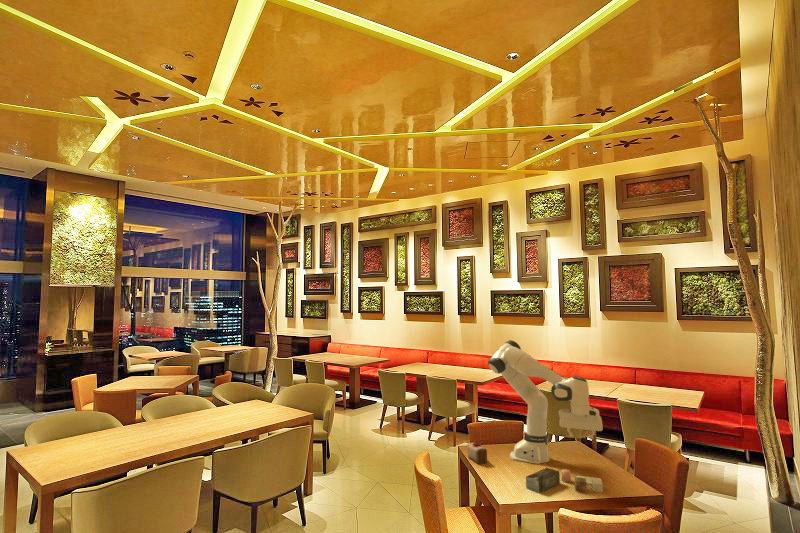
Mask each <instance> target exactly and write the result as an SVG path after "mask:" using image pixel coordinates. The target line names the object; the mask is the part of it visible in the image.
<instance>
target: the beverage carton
mask: <svg viewBox="0 0 800 533" xmlns="http://www.w3.org/2000/svg"><path fill="white" fill-rule="evenodd" d="M560 474H561V473H560V471H559V470H557V469H553V468H549V467H545V468H543V469H540V470H539V471H536V472H533V473H531V474H530V475H527V476H525V486H526V489H527V490H530V491H532V492H534V493H537V494H540V493H542V492H545V491H547V490H549V489H550V488H553V487H555V486H557V485H559V484H560V483H561V477H560Z"/></svg>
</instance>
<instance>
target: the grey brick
mask: <svg viewBox="0 0 800 533" xmlns="http://www.w3.org/2000/svg"><path fill="white" fill-rule="evenodd" d="M591 477H592V485H591V486H593V487H592V489H593V492H594V491H596V492H595V493H601V492H603V493H604V486H603V485H604V484H603V481H602V479H601V478H600V477H594V478H593V476H591Z"/></svg>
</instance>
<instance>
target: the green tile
mask: <svg viewBox="0 0 800 533" xmlns="http://www.w3.org/2000/svg"><path fill="white" fill-rule="evenodd" d="M575 477H578V478H586V482H587V485H591V486H592V477H593V476H582V475H576V476H575ZM593 478H595V477H593Z"/></svg>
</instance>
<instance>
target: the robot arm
mask: <svg viewBox="0 0 800 533" xmlns="http://www.w3.org/2000/svg"><path fill="white" fill-rule="evenodd" d="M487 365H488V368H489V369H490V370H491V371H492V372H493V373H495V374H497V375H499V374H500V375H502V377H503V378H504V379H505V382H507V383H508V384H509V386H511V388H512V389H514V391H515V392H516V393H517V394H518V395H519V397H520V398H522V400H523V401H524V402H525V403H526V404H527V415H526V431H523V432H522V435H523V436H522V437H523V438H522V440H519V441H518V442H517V443H516V444H515V445H514V448H513V450H512V451H511V452H510V454H509V458H510V460H513V461H518V462H525V463H529V464H535V465H540V464H542V463H543V464H544V463H549V462H550V460H551V458H550V456H549V455H550V454H549V449H548V443H549V442H548V441H549V438H548V434H547V433H548V432H547V418H548V408H549V407H548V406H549V403H548V402H549V401H548V398H547V397H546V395H545V394H544V393H543V392H542V391H541V390H540V389H539V387H537V385H535V383H534V382H533V381H532V380H531V378H529V377H532V378H533V377H534V378H541V379H544V380H545V381H547V382H548V383H550V384H552V386H551V388H550V389H551V390H550V393H551V396H552V397H553V399H554V400H556V401H558V402H567V401H569V402H570V408H563V407H562V408H560V409H559V410H558V417H559V427H560V428H566V430H567V432H568V435H569V437H570V438H574V435H573V434H574V433H573V432H571V429H576V430H583V431H584V430H586V431H591V434H589V440H594V435H595V433H596V432H602V431H603V419H602V416H601V415H600V410H599V409H597V408H595V407H592V406H590V402H589V397H590V389H589V384H588V383H589V382H588V380H587V379H586V378H584V377H582V376H575V375H574V376H571V377H570V378H567V377H565V376H563V375H561V374H559V373H557V372H556V371H554V370H553V369H552V368H549V367H548V366H546V365H544V364H543V363H541V362H540V361H539V360H537V359H536V358H534V357H533V356H532V355H530V354H528V353H527V352H525V351H524V350H522V348H521V346H520V344H519V343H518V342H516V341H514V340H512V339H509V340H507V341H505V342H504V344H502V345H501V346H500V347H499V348H498V349H497V350H496V351H495V352H494V353H493V355H492V356H491V357H490V358H489V359H488V361H487Z"/></svg>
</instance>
